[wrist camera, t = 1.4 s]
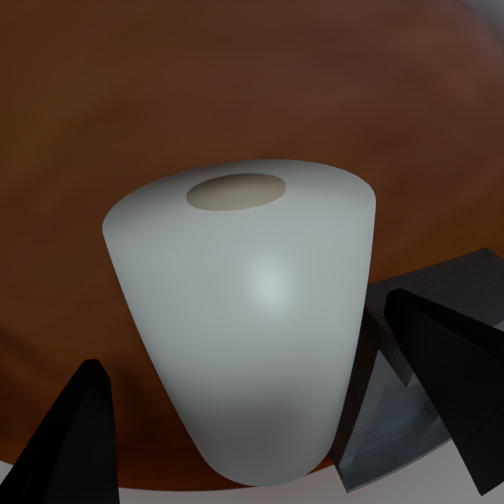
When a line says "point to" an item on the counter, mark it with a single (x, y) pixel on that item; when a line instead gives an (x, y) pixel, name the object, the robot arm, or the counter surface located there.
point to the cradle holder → (405, 371)
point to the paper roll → (249, 304)
